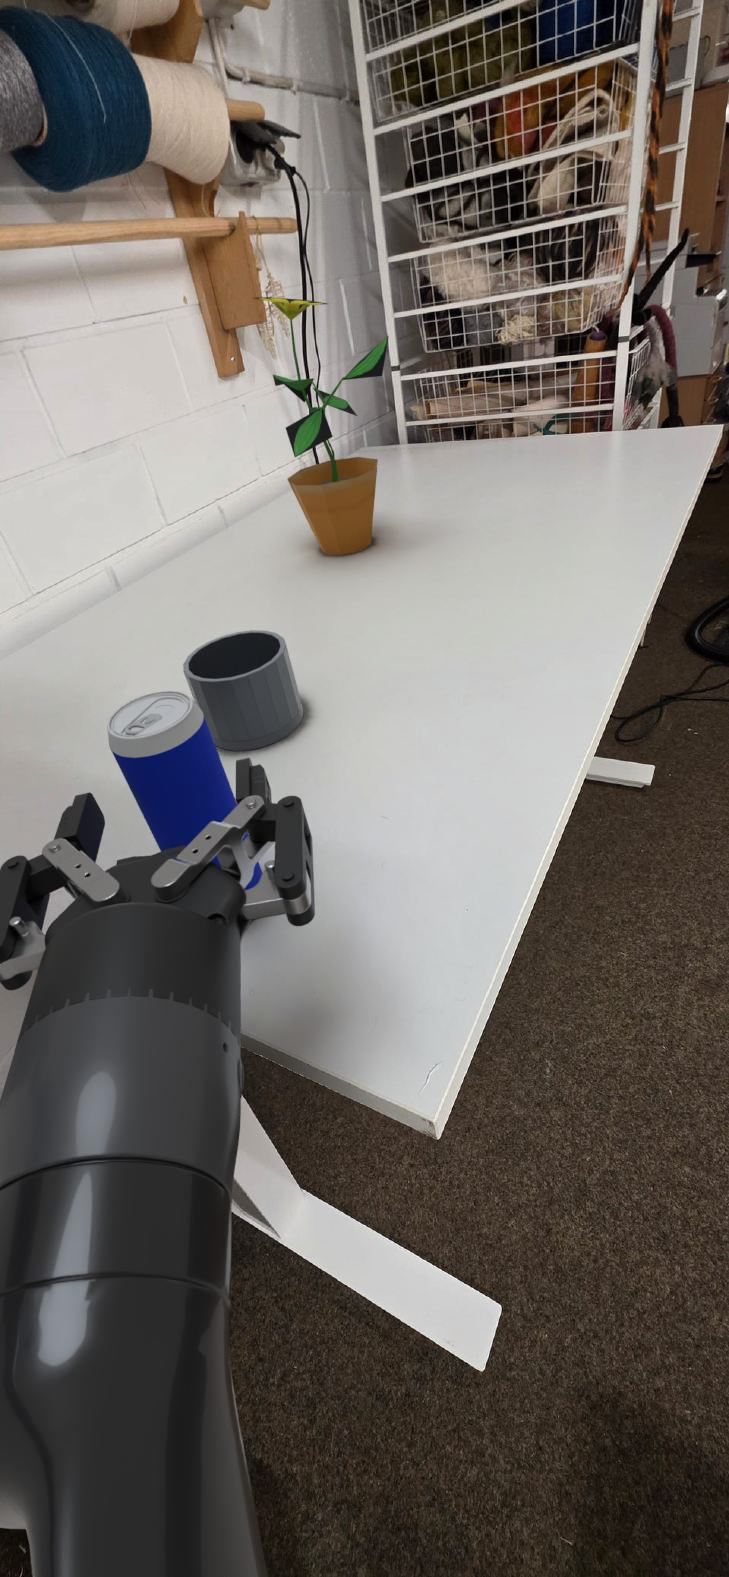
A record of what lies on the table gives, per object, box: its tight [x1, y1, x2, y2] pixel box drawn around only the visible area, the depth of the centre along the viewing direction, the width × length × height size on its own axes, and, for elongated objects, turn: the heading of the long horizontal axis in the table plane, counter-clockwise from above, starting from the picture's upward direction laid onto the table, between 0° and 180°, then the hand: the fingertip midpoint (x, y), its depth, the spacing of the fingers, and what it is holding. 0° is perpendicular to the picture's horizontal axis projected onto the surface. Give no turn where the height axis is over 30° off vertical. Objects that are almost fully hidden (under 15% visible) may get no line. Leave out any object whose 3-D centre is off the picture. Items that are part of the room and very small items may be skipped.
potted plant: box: [253, 296, 389, 556], centre depth 87 cm, size 18×19×30 cm
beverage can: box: [106, 690, 263, 890], centre depth 40 cm, size 5×5×15 cm
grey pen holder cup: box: [182, 629, 304, 752], centre depth 60 cm, size 9×9×7 cm
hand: (169, 788), depth 36 cm, fingers open, 8 cm apart
